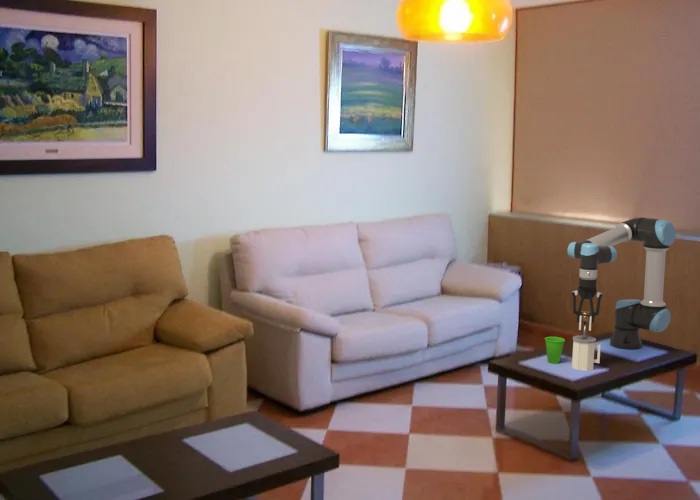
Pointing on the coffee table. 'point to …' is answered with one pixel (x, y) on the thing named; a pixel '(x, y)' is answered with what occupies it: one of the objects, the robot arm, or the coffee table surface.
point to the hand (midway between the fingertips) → (584, 329)
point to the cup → (554, 349)
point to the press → (584, 353)
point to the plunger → (585, 320)
